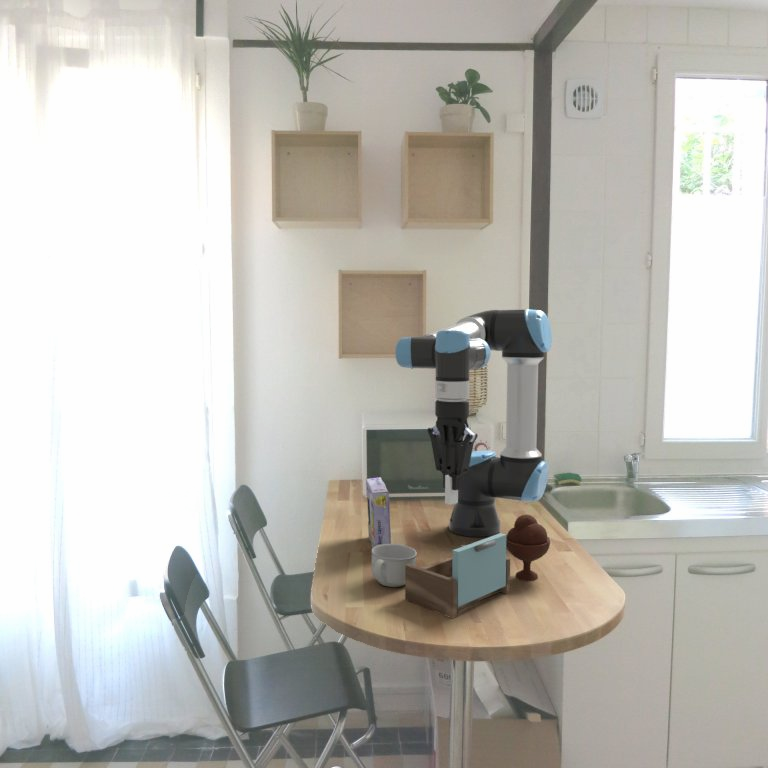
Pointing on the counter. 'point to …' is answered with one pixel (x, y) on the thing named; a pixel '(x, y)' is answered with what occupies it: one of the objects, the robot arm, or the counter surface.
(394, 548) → the teacup
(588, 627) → the counter surface
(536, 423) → the robot arm
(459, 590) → the pale blue slab
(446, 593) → the drawer box
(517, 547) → the ice cream bowl
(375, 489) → the cake pan box
